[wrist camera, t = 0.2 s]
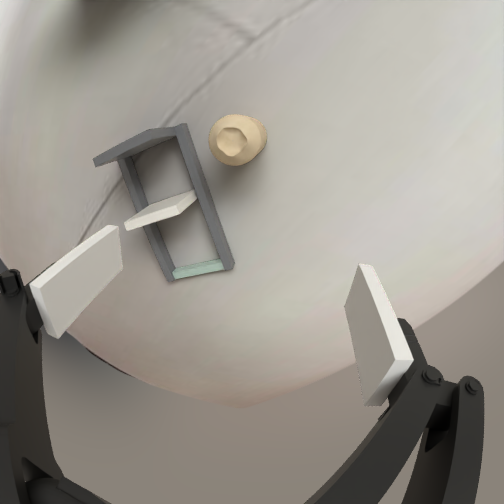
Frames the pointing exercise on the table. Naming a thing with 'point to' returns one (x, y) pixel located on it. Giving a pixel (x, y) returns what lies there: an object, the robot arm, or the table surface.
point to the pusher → (161, 210)
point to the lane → (140, 202)
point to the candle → (237, 139)
